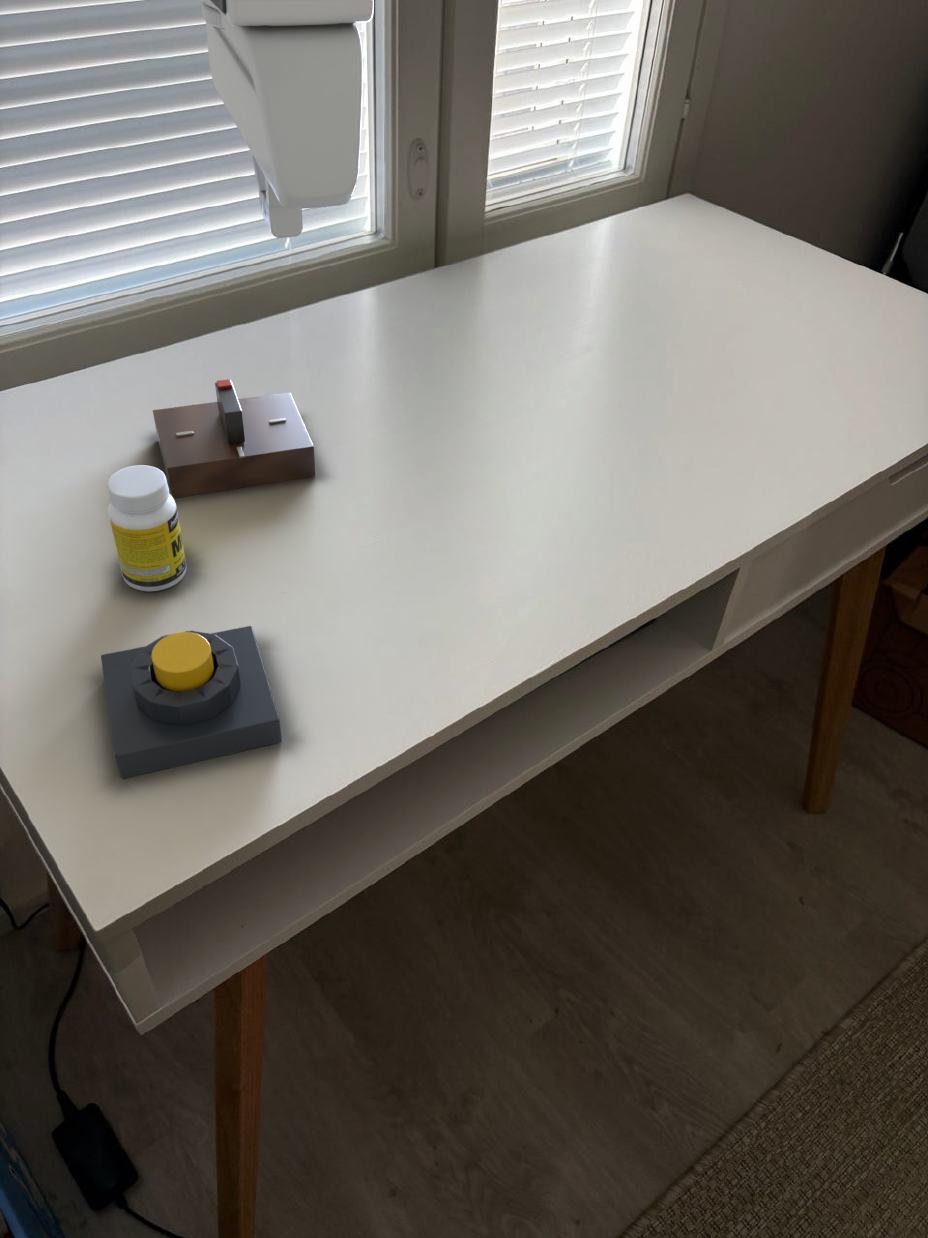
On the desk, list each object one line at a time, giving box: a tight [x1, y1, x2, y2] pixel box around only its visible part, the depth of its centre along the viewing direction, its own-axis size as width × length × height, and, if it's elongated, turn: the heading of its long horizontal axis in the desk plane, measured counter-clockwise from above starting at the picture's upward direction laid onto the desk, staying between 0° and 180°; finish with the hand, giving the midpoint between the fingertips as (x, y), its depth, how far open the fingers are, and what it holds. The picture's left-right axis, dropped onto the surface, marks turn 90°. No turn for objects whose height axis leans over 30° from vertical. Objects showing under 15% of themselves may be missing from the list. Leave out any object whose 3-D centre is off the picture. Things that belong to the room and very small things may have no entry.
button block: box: [100, 625, 283, 779], centre depth 65 cm, size 10×9×4 cm
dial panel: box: [152, 391, 316, 499], centre depth 86 cm, size 12×9×3 cm
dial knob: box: [214, 378, 245, 444], centre depth 84 cm, size 5×1×3 cm, turn 20°
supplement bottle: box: [107, 464, 187, 593], centre depth 73 cm, size 5×5×8 cm
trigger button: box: [151, 631, 214, 692], centre depth 63 cm, size 4×4×2 cm
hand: (281, 227), depth 58 cm, fingers closed
